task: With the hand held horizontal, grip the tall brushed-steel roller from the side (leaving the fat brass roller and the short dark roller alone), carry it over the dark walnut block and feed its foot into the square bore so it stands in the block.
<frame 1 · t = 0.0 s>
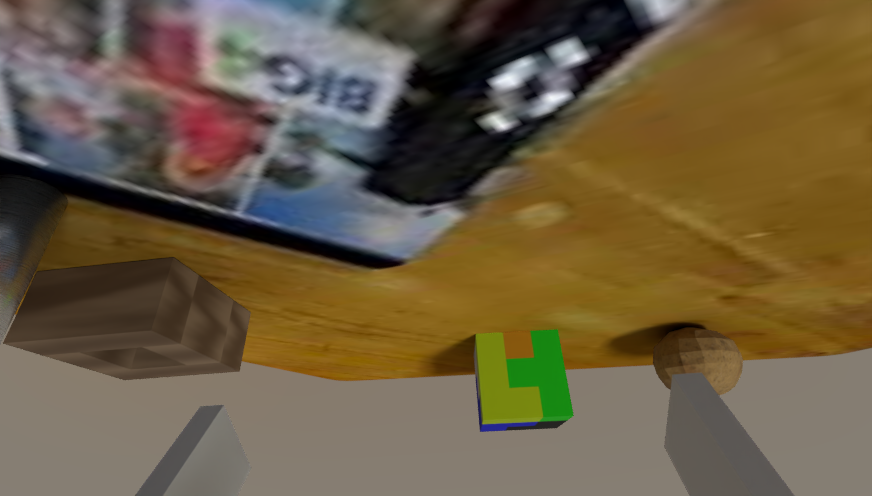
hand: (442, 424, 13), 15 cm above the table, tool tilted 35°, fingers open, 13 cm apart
steel roller: (32, 192, 27), on the table
potato: (686, 329, 55), on the table
walnut block: (156, 294, 40), on the table
puzzle toy: (512, 342, 57), on the table
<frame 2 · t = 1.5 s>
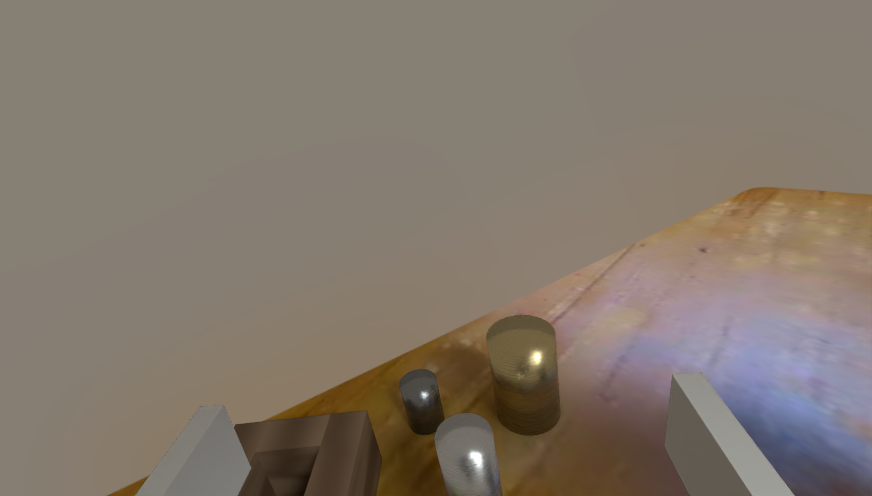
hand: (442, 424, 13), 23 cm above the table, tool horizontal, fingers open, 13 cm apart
fat brass roller: (528, 410, 42), on the table
short dark roller: (427, 420, 43), on the table
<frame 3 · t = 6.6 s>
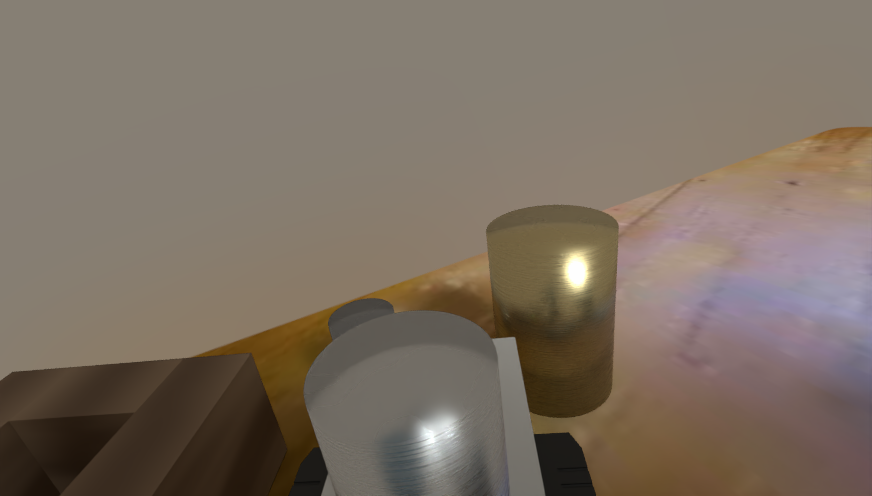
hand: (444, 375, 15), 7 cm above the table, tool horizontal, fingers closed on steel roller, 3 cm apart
fat brass roller: (554, 376, 24), on the table
short dark roller: (378, 388, 25), on the table
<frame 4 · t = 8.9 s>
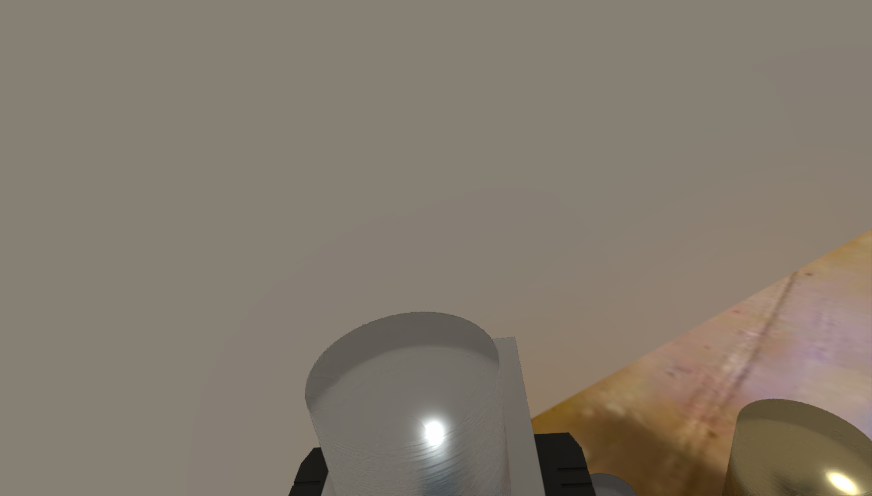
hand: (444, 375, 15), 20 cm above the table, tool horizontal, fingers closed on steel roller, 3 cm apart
when the fingers open (12 cm above the table, at t = 11.3 s): steel roller drops 5 cm, resting in walnut block.
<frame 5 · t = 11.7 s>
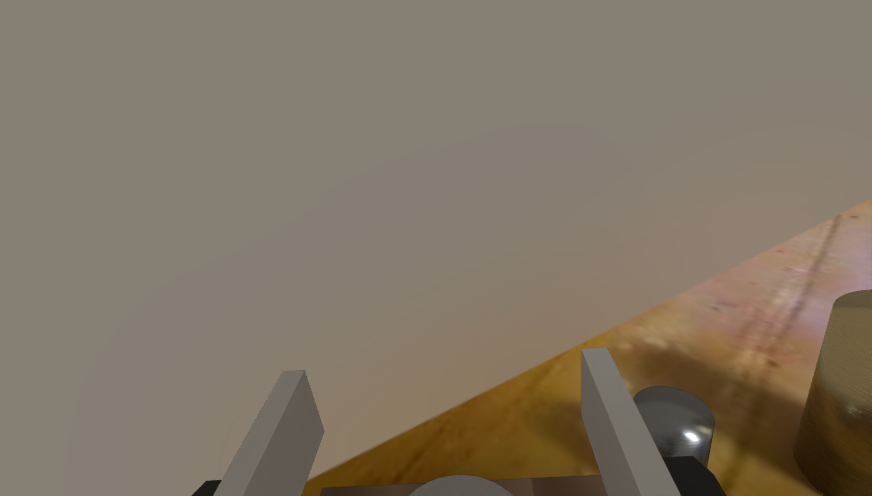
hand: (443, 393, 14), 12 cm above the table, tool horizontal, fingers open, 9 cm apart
fat brass roller: (869, 474, 22), on the table
short dark roller: (663, 483, 23), on the table
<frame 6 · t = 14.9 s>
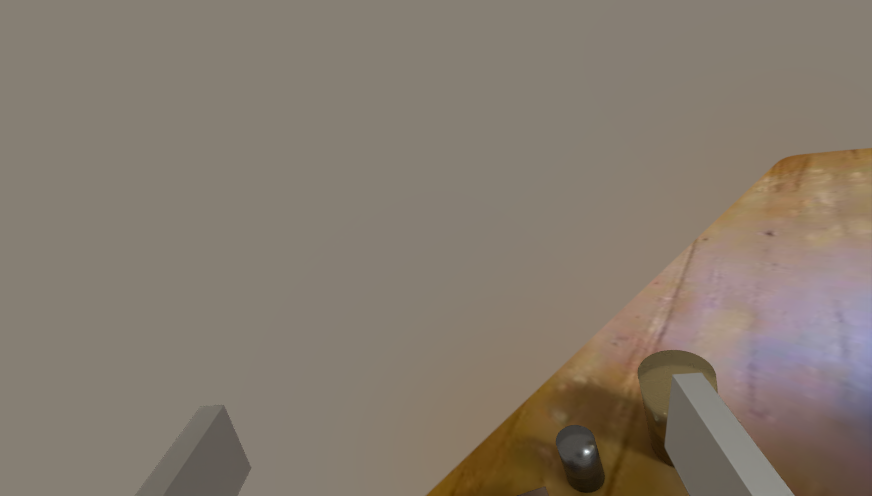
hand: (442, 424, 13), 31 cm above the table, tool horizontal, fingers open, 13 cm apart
fat brass roller: (685, 442, 41), on the table
short dark roller: (585, 475, 42), on the table
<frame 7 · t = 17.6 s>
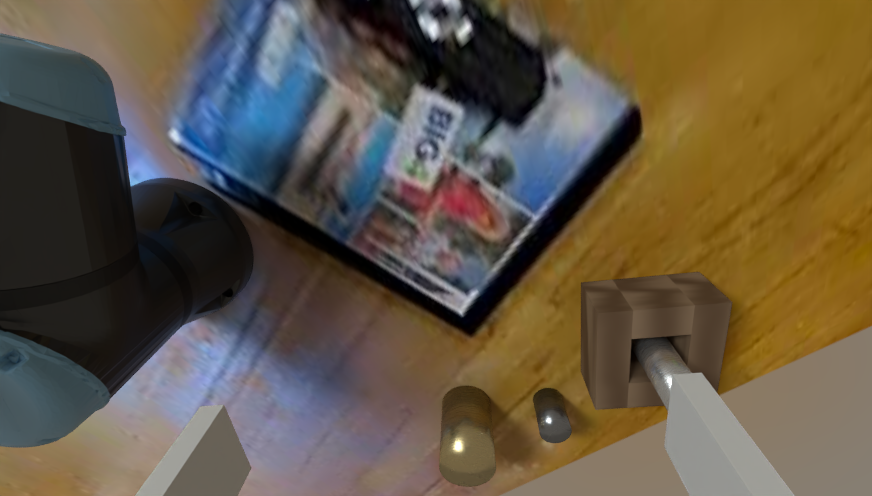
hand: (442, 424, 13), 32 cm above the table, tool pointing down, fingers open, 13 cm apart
steel roller: (636, 324, 48), resting in walnut block
fat brass roller: (466, 404, 54), on the table
short dark roller: (547, 399, 53), on the table
walnut block: (636, 324, 48), on the table
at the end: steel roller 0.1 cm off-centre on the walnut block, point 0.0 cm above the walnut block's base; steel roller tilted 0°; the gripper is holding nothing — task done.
